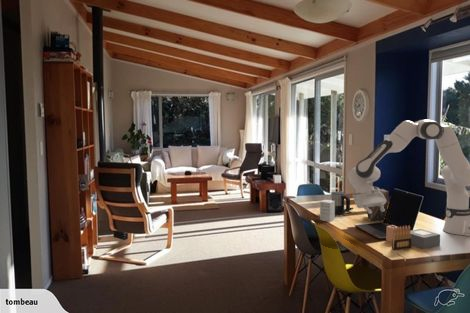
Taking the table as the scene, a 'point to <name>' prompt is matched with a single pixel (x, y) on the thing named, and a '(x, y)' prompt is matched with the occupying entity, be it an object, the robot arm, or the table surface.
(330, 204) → the supplement box
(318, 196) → the table surface
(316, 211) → the table surface
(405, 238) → the ammunition clip
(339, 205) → the milk frother
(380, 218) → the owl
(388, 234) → the block
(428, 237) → the base block
